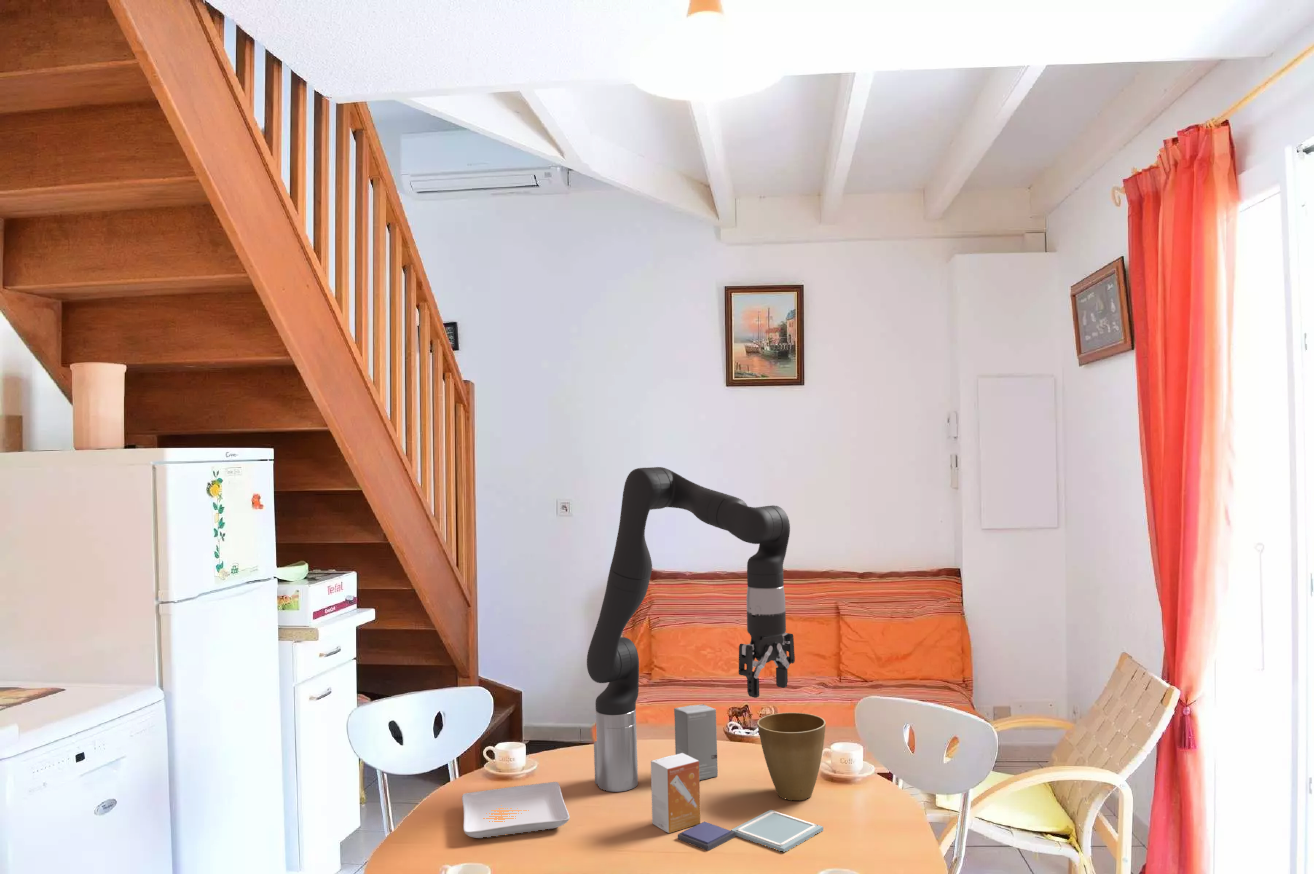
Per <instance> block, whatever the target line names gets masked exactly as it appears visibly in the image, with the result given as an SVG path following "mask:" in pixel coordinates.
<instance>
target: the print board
mask: <svg viewBox="0 0 1314 874" xmlns="http://www.w3.org/2000/svg"><path fill="white" fill-rule="evenodd" d="M730 831H733V832H735V837H737V838H741V837H742V838H741V839H744V840H747V841H749V840H750V841H749V842H752V841H753V842H752V843H755V844H757V843H760V844H762V845H761V846H763V845H766V846H768V847H767V848H769V847H770V848H769V849H771V848H775V849H777V850H779V851H778V852H780V851H783V852H785V851H787V852H789V851H790V850H789V849H791V848H792V849H794V848H796V847H797V846H796V845H798V846H799V845H801V844H803V843H804V841H805V840H806V841H808V840H809V838H810V837H812V838H813V837H815V836H816V835H815V834H817V833H819V832H820V833H822V832H824V826H822V825H819V824H816V823H813V822H809V821H808V820H803V819H801V818H799V817H795V816H791V815H789V814H785V813H781V812H779V811H776V810H773V809H769V810H768V811H765V812H764V813H762V814H759V815H758V816H757V815H756V816H755V817H754V818H752V819H749V820H748V821H745V822H743V823H742V824H739V825H737V826H736V827H734V828H732V829H730ZM821 831H822V832H821ZM820 833H819V834H820ZM814 835H815V836H814ZM817 835H818V834H817ZM810 839H811V838H810ZM806 841H805V842H806ZM800 843H801V844H800ZM760 844H759V845H760ZM766 846H765V847H766ZM795 846H796V847H795ZM793 847H794V848H793ZM792 849H791V850H792ZM777 850H776V851H777ZM788 850H789V851H788ZM785 853H786V852H785Z"/></svg>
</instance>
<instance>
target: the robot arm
mask: <svg viewBox="0 0 1314 874" xmlns="http://www.w3.org/2000/svg"><path fill="white" fill-rule="evenodd" d="M620 507H621V508H620V518H619V524H618V529H617V536H616V540H615V541H616V542H615V545H614V551H613V554H612V555H613V556H612V560H611V563H610V567H609V572H608V577H607V582H606V587H605V592H604V597H603V599H602V600H603V601H602V604H601V609H600V611H599V612H600V613H599V617H598V619H597V622H596V623H597V624H596V626H595V629H594V631H593V635H592V638H591V641H590V644H589V647H588V650H587V655H586V669H587V672H588V673H587V674H588V676H589V677H590V678H591V680H592V681H593V682H595V683H598V684H606V683H607V686H606V688H605V689H604V690H603V691H602V692H600V693H599V694H598V696H597V697H596V698H595V723H596V724H595V726H596V728H595V730H596V731H595V732H596V733H595V734H596V740H595V741H594V742H593V754H594V755H593V756H594V757H593V760H594V783H595V785H597V786H599V787H598V788H599V789H601V790H602V789H604V790H603V791H605V790H606V791H605V792H614V793H615V792H626V791H629V790H632V789H635V788H636V787H638V784H639V770H638V769H639V767H638V741H637V740H638V739H637V736H638V735H637V734H638V733H637V709H636V708H637V707H636V706H637V705H636V704H637V699H638V697H639V688H640V687H639V686H640V685H639V683H640V681H639V680H640V659H639V653H638V650H637V647H636V644H635V643H634V642H633V641H632V640H631V638H628V637H624V636H622V634H623V632H624V629H625V627H626V626H627V624H628V623H629V622H630V620H631V618H632V617H633V616H634V614H635V613H636V611H637V610H638V609H639V607H640V606H641V604H642V602H643V601H644V599H645V597H646V595H647V593H648V589H649V584H650V580H651V575H652V571H653V561H652V558H651V555H650V551H649V548H648V545H647V541H646V535H645V534H646V524H647V520H648V516H649V513H650V511H651V510H661V509H665V508H673V509H682V510H685V511H687V512H690V513H692V514H693V516H695V517H696V519H698V520H699V521H701V522H703V523H705V524H707V525H710V526H713V527H715V528H718V529H720V530H723V531H727V532H729V534H731V535H733V537H736V538H737V539H739V540H741V541H742V542H744V543H748V544H753V545H759V546H758V550H757V552H756V553H755V554H753V555H752V556H750V557H749V558H748V559H747V563H746V571H747V572H746V576H747V577H746V579H747V580H746V582H747V587H746V588H747V589H746V631H747V633H748V634H749V636H750V642H749V643H747V644H745V643H740V644H739V645H738V675H739V676H742V677H746V683H747V684H746V685H747V687H746V688H747V691H746V692H747V695H748V696H749V697H750V698H754V699H757V698H759V697H760V677H759V676H760V673H761V671H762V670H763V669H764V668H765V667H766V664H769V663H770V662H771V661H773V662H774V664H775V681H776V682H775V683H776V684H775V685H776V687H778V688H781V689H786V688H787V687H788V680H789V679H788V675H789V674H788V669H789V668H790V665H791V664H795V662H796V661H795V660H796V657H795V655H796V654H795V641H794V638H795V637H794V634H793V633H790V632H789V633H787V632H786V631H787V623H786V622H787V618H786V616H787V615H786V594H785V589H784V588H785V587H784V584H785V583H784V561H785V558H786V554H787V550H788V544H789V540H790V534H791V523H790V519H789V516H788V514H787V513H786V511H785V509H784V508H782V507H781V506H778V505H774V504H773V505H765V506H756V507H755V506H753V507H752V506H748V504H747V502H745V500H743V499H741V498H739V497H737V496H734V495H730V494H727V493H723V492H720V491H717V490H714V489H712V488H711V489H710V488H707V487H704V486H702V485H700V484H697V483H695V482H693V481H690V480H689V479H687V478H686V477H683V476H682V475H680V474H678V473H676V472H674V471H672V470H671V469H668V468H666V467H662V466H654V467H639V468H634V469H633V470H631V471H630V472H629V473H628V475H627V476H626V479H625V481H624V485H623V491H622V499H621V506H620ZM745 665H746V666H745ZM745 667H746V668H745ZM753 669H754V670H753Z"/></svg>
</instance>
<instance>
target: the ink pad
mask: <svg viewBox="0 0 1314 874" xmlns="http://www.w3.org/2000/svg"><path fill="white" fill-rule="evenodd" d="M735 838H736V836H735V832H733V831H731V829H727V828H724V827H721V826H718V825H717V824H712V823H709V822H707V821H703V822H700V824H698V825H694V826H691V827H689V828H688V829H686V830H684V831H682V832H679V833H678V834H677V840H680V841H682V842H685V843H687V844H690V845H692V846H695V847H698V848H700V849H703V850H706V851H711V850H712V849H715V848H716V847H719V846H720V845H722V844H724V843H727V842H728V841H730V840H732V839H735Z"/></svg>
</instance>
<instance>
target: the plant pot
mask: <svg viewBox="0 0 1314 874" xmlns="http://www.w3.org/2000/svg"><path fill="white" fill-rule="evenodd" d="M756 724H757V729H758V735H759V740H760V744H761V750H762V752H763V756H764V759H765V760H764V761H765V763H766V767H767V770H768V772H769V776H770V778H771V781H772V784H773V787H774V788H775V790H776V793H777V795H779V796H780V798H781V797H783V798H786V799H788V800H787V801H792V800H799V801H805V800H807V798H808V799H810V798H811V797H812V795H813V792H814V788H815V786H816V783H817V780H818V779H817V778H818V776H819V771H820V766H821V762H822V756H823V751H824V745H825V736H826V724H827V723H826V720H825V718H823V717H821V716H819V715H815V714H811V713H805V712H804V713H803V712H778V713H773V714H767V715H765V716H763V717H761V718H759V719H758V720H757V722H756ZM779 796H778V797H779ZM783 798H782V799H783ZM786 799H785V800H786Z"/></svg>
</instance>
